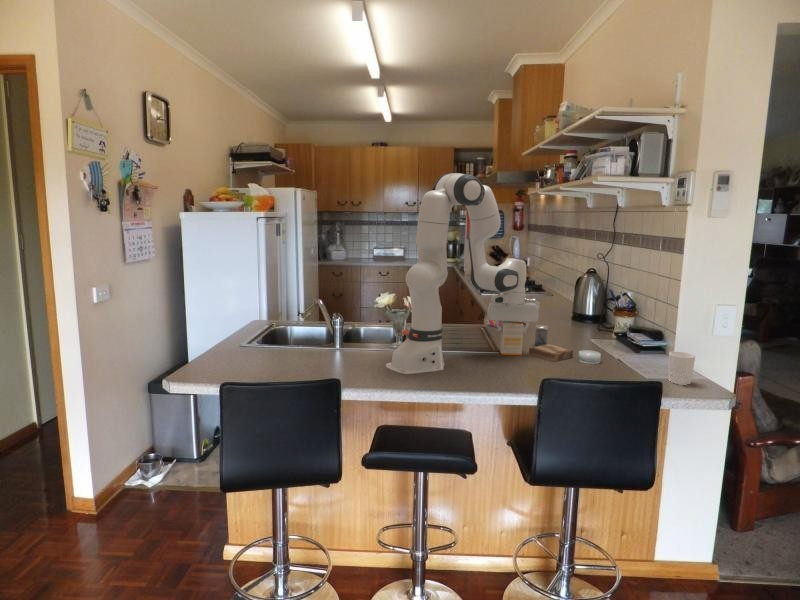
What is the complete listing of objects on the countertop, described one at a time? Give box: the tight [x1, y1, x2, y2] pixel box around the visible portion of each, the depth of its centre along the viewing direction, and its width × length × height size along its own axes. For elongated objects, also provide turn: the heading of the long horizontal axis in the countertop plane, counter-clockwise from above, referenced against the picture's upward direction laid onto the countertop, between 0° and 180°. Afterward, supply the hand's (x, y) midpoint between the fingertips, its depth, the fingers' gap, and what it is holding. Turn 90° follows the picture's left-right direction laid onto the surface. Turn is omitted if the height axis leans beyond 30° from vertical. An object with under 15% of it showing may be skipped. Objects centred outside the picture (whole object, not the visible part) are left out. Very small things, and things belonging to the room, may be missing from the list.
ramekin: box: [578, 349, 602, 365], centre depth 204 cm, size 8×8×4 cm
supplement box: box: [499, 321, 524, 356], centre depth 211 cm, size 8×5×13 cm, turn 88°
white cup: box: [667, 350, 696, 385], centre depth 179 cm, size 8×8×10 cm
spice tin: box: [534, 324, 549, 347], centre depth 225 cm, size 5×5×9 cm
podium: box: [528, 343, 574, 363], centre depth 210 cm, size 12×12×3 cm
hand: (511, 331), depth 211 cm, fingers closed on supplement box, 8 cm apart
